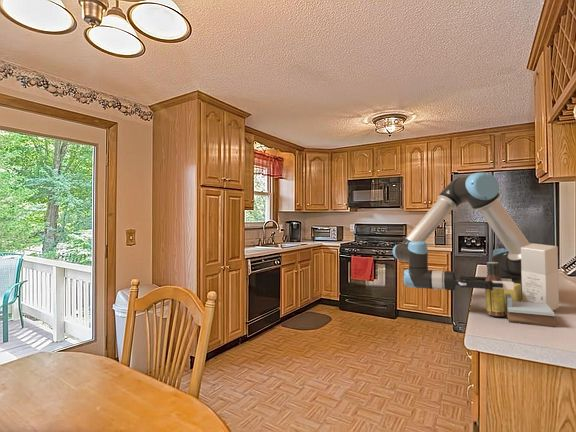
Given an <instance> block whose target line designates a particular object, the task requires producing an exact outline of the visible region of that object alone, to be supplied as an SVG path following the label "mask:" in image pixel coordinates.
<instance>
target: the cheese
mask: <svg viewBox="0 0 576 432" xmlns="http://www.w3.org/2000/svg"><path fill="white" fill-rule="evenodd" d="M505 294H510V295H511V297H512V301H519V302H522V294H521V284H517V283H514V290H511V289H504V295H505ZM505 300H506V296H505Z"/></svg>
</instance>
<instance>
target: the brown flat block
mask: <svg viewBox="0 0 576 432" xmlns="http://www.w3.org/2000/svg"><path fill="white" fill-rule="evenodd" d="M505 308H506V311H505V316H506V318H508V319H507V321H509V322H508V323H510V322H511V324H519V323H520V324H522V325H530V326H539V327H540V326H541V327H549V328H556V320H555V316H547V315H536V314H526V313H515V312H508V309H507V307H506V304H505ZM520 324H519V325H520Z"/></svg>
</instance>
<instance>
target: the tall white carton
mask: <svg viewBox="0 0 576 432" xmlns="http://www.w3.org/2000/svg"><path fill="white" fill-rule="evenodd" d="M558 248H559V247H558V246H557V245H549V244H541V243H535V242H534V243H532V244H530V245H527V246H524V247H521V274H522V302H532V303H544V304H547V305H548V306H549V307H550V308H551V310H552V311H553V312H554V311H555V310H556V309H558V308H559V307H560V299H559V298H560V297H559V293H560V292H559V289H560V288H559V255H558V253H559V252H558V251H559V249H558Z"/></svg>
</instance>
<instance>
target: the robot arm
mask: <svg viewBox="0 0 576 432" xmlns="http://www.w3.org/2000/svg"><path fill="white" fill-rule="evenodd" d="M499 187H500V184H499V182H498V179H497V177H495V175H493V174H491V173H489V172H474V173H472V174H467V175H463V176H459V177H455V179H453V180H451V181H450V182H449V183H448V185H447V186H445V188H444V189H443V190H442V191H441V192H440V193H439V194H438V196H437V200H436V202H435V203H434V204H433V205H432V206H431V208H430V209H429V210H428V211H427V212H426V213H425V215H424V216H423V217H422V218H421V220H419V222H418V223H417V224H415V225H416V226H414V228H413V229H412V230H411V231H410V232H409V234H408V235H407V236H406V237H405V238H404V240H403V241H402V242H401V243H398V244H395V245H394V246H393V248H392V255H393V257H394V258H395V259H396V260H399V261H402V262H407V263H408V268H407V269H405V270H403V271H404V272H403V284H404V286H406V287H408V288H413V289H414V288H415V289H426V290H427V289H429V290H430V289H431V290H433V289H434V290H435V291H438V292H439V290H444V289H445V291H455V290H456V286H460V288H469V289H470V288H472V289H481V290H482V289H484V290H485V289H490V290H493V288H495V289H511V290H514V283H517V284H521V294H522V274H521V247H524V246H527V245H530V244H533V243H531V242H529V240H528V239H527V238H526V236H525V235H524V233H523V232H522V231H521V229H520V228H519V226H518V225H517V223H516V222H515V221H514V219H513V218H512V216H511V215H510V214H509V212H508V211H507V210H506V208H505V207H504V206H503V204H502V202H501V201H500V196H501V194H500V193H499V192H500V188H499ZM466 202H467V203H468V204H469V206H471V208H472V209H473V210H476V211H479V213H480V214H481V215H482V217H483V218H484V219H485V221H486V222H487V224H488V225H489V227H490V229H491V230H492V231H493V232H494V234H495V235H496V236H497V238H498V239H499V241H500V243H502V245H503V246H504V247H502V248H501V247H500V248H495V249H493V251H492V257H491V258H492V262H498V263H499V267H498V268H499V275H500V278H501V280H502V281H485V279H486V277H487V276H471V275H460V276H456V272H455V271H454V270H453V271H452V270H451V271H450V270H449V271H448V270H445V271H443V270H430V269H429V262H428V261H429V260H428V258H429V257H428V255H429V254H428V253H429V250H428V243H427V242H426V241H427V240H428V239H429V237H431V235H432V234H433V232H435V230H436V229H437V228H438V226H439V225H440V224H441V223H442V222H443V221H444V219H445V218H446V217H447V216H448V215H449V214H450V212H451V211H454V210H456V209H457V208H458V207H459V206H460V205H461V204H464V203H466Z"/></svg>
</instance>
